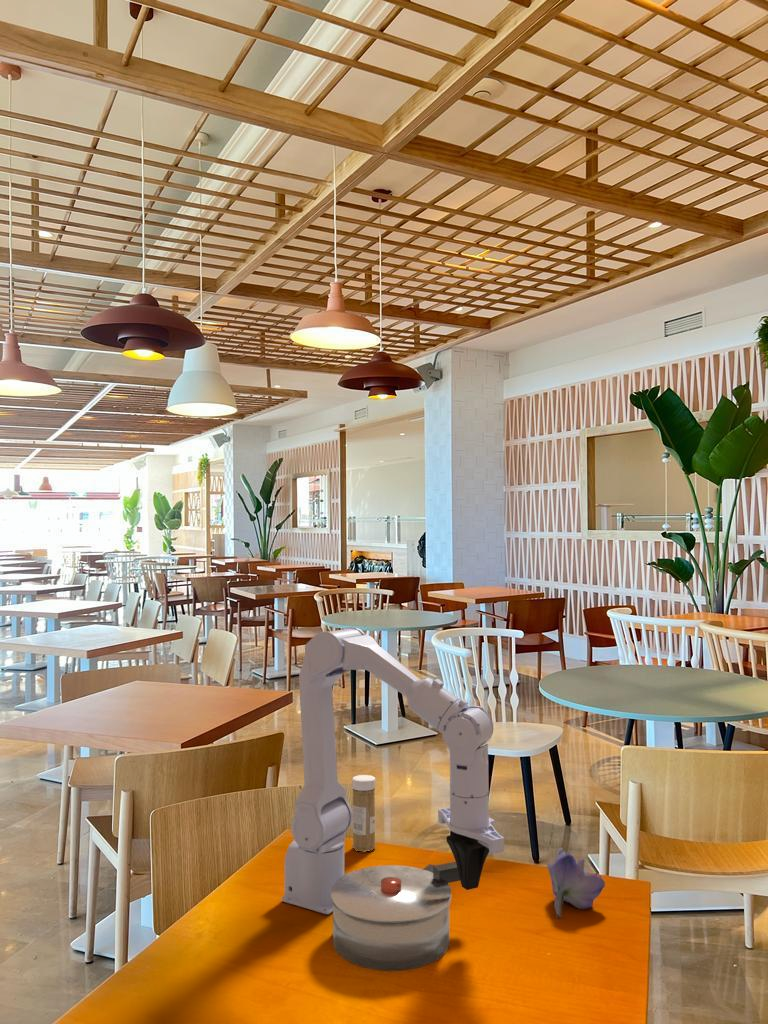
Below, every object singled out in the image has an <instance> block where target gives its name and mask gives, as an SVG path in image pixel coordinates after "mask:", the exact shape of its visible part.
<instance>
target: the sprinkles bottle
mask: <svg viewBox="0 0 768 1024" xmlns="http://www.w3.org/2000/svg"><path fill="white" fill-rule="evenodd" d="M376 786H377V785H376V777H375V776H373V775H370V774H359V775H355V776H353V777H352V778H351V788H352V815H353V819H352V832H353V833H352V849H353V848H354V849H356V850H357V851H366V850H367V851H368V850H372V849H374V850H375V849H376V846H377V845H376V806H375V799H376V798H375V793H376V792H375V790H376ZM375 845H376V846H375ZM354 849H353V850H354ZM357 851H356V852H357Z"/></svg>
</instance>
